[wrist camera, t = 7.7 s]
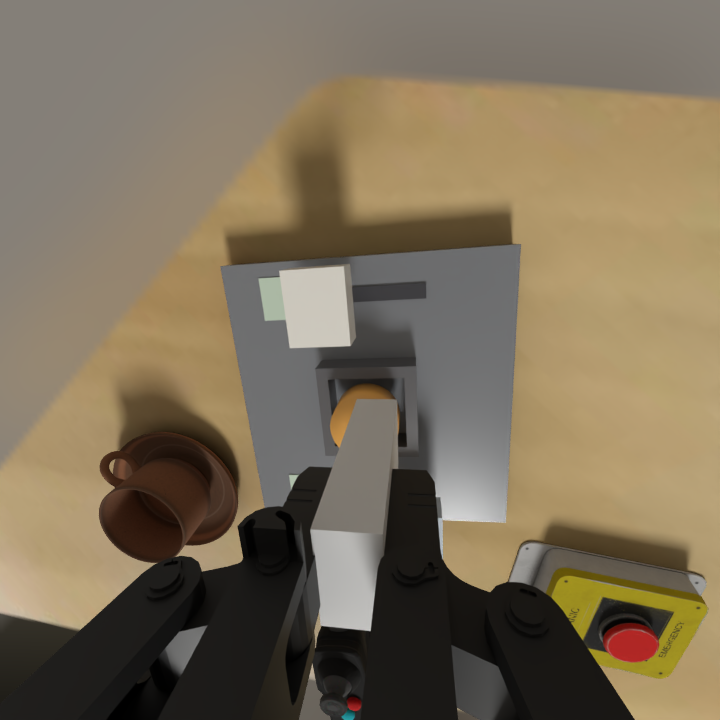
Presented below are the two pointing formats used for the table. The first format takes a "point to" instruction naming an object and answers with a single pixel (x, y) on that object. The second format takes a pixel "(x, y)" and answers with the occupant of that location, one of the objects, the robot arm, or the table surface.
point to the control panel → (390, 369)
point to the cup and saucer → (165, 496)
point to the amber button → (347, 406)
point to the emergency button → (618, 605)
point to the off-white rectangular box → (318, 306)
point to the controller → (341, 671)
